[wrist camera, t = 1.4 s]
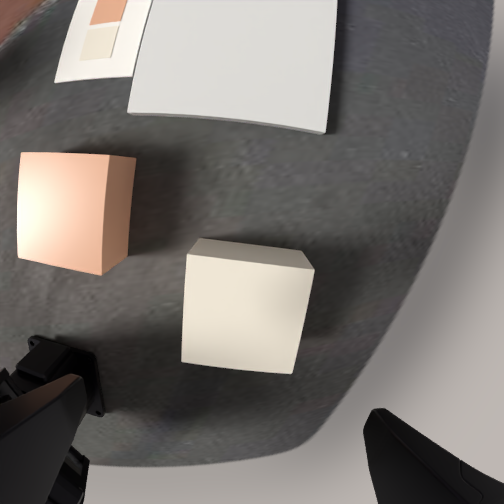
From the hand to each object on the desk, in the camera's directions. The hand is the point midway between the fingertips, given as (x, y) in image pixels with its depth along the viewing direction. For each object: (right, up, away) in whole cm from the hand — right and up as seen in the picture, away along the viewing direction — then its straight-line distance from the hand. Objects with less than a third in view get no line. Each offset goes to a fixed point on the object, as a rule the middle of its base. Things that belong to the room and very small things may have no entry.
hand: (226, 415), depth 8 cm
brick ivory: (0, +2, +11) cm, 11 cm away
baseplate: (0, +17, +7) cm, 19 cm away
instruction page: (-9, +19, +6) cm, 22 cm away
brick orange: (-9, +8, +9) cm, 16 cm away
